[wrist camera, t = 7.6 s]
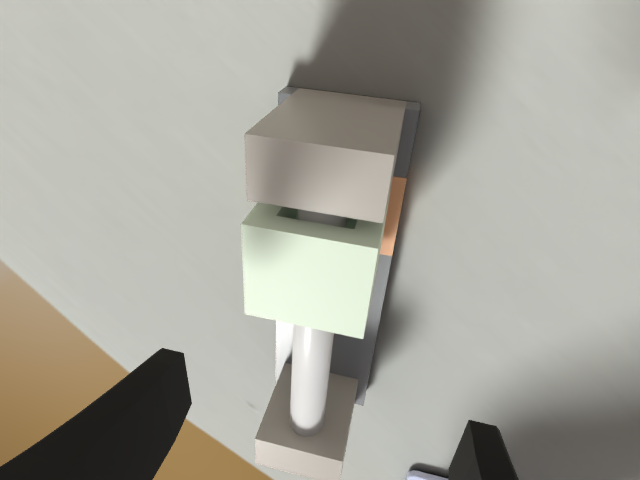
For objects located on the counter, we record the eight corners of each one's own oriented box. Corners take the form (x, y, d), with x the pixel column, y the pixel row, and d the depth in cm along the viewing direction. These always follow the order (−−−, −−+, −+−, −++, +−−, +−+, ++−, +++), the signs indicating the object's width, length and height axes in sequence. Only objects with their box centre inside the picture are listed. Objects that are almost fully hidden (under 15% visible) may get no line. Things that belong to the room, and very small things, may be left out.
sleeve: (377, 267, 17) (363, 339, 14) (280, 249, 17) (244, 313, 14) (391, 188, 15) (378, 248, 12) (282, 170, 16) (240, 224, 12)
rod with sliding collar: (365, 390, 24) (349, 488, 19) (280, 371, 25) (245, 460, 20) (420, 102, 15) (414, 157, 11) (286, 86, 16) (226, 131, 11)
